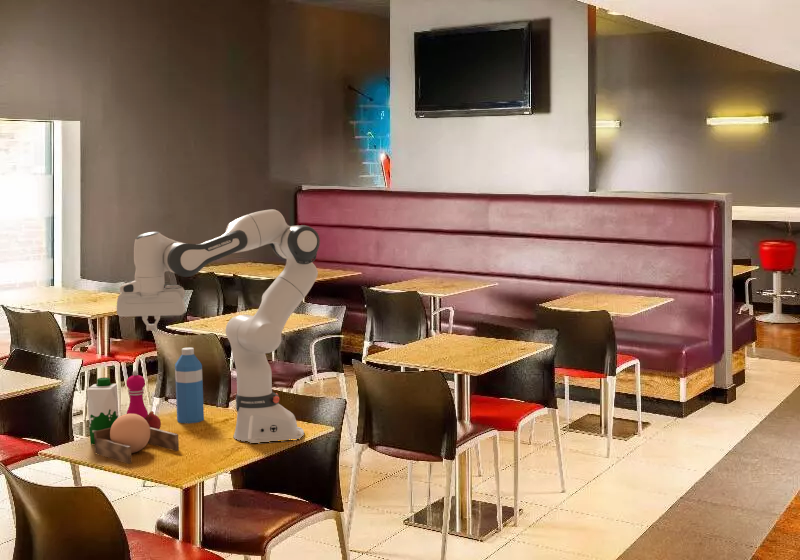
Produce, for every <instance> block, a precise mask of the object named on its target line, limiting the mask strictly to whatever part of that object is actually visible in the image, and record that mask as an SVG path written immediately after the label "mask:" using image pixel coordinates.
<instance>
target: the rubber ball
mask: <svg viewBox="0 0 800 560" xmlns="http://www.w3.org/2000/svg"><path fill="white" fill-rule="evenodd" d="M149 438H150V427H149V424H148V423H147V421H146V420H145V419H144V418H143V417H141V416H140V415H137V414H127V413H125V414H122V415H120V416H119V418H117V419H116V420H115V421H114V423H113V424H112V426H111V429H110V439H111V441H114V442H117V443H121V444H124V445H128V446H131V454H135V453H137V452H139V451H141V450H142V449H144V448H145V447H146V446H147V445H148V441H149Z"/></svg>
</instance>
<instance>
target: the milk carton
mask: <svg viewBox="0 0 800 560" xmlns="http://www.w3.org/2000/svg"><path fill="white" fill-rule="evenodd" d="M86 394H87V409H88V411H87V413H88V430H89V439H90V445H92V444H95V442H94V431H98V430H102V429H107V428H111V426H112V424H113V423H114V421H115V420H116V419H117V418H119V417H120V416H119V398H118V394H119V393H118V383H111V378H110V377H98V378H97V379H96V383H94V384H92V385H91V386H89V387H88V388H87V389H86Z"/></svg>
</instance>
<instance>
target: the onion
mask: <svg viewBox="0 0 800 560" xmlns="http://www.w3.org/2000/svg"><path fill="white" fill-rule="evenodd" d="M144 419H145V420H147V423H148V424H149V427H152V428H155V429H159V430H161V427H162V426H161V425H162V420H161V419H160V417H159V416H157V414H155V413H154V411H152V410H151V411H149V413H148V415H147V416H146V417H145V418H144Z"/></svg>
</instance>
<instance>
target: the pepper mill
mask: <svg viewBox="0 0 800 560" xmlns="http://www.w3.org/2000/svg"><path fill="white" fill-rule="evenodd" d="M125 385H126V387H127V388H128V391H127V392H128V396H129V406H128V407H127V411H126V414H137V415H140V416H141V417H143V418H145V417H146V416H147V415H148V414H149V413H148V409H147V408H146V405H145V402H144V394H145V392H144V391H145V390H144V387H145V386H146V380H145V378H144V377H143V376H142V375H139V371H137V370H133V371H132V375H130V376H129V377H128V378H127V379H126V383H125Z"/></svg>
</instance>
